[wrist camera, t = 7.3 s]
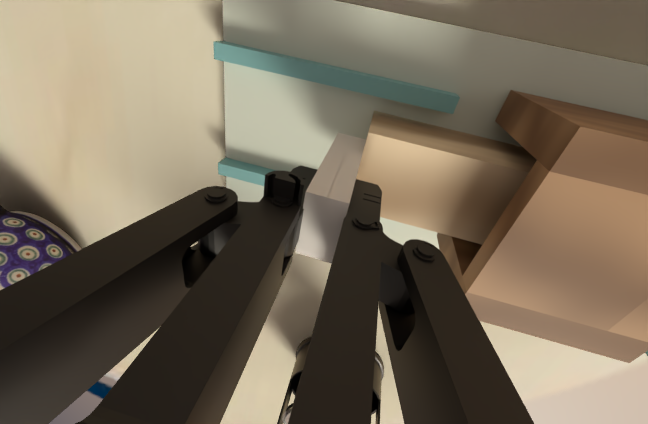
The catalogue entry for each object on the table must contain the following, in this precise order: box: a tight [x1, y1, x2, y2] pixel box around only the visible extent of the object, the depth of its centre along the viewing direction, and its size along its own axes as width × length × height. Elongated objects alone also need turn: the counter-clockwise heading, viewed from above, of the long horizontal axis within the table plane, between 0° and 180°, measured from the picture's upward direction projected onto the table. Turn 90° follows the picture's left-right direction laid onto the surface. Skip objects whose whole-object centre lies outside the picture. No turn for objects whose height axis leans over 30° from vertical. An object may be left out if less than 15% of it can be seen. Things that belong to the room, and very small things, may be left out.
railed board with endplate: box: [214, 0, 648, 356], centre depth 13 cm, size 13×29×10 cm, turn 80°
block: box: [437, 90, 648, 363], centre depth 13 cm, size 9×8×6 cm
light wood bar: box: [356, 111, 537, 245], centre depth 15 cm, size 4×12×4 cm, turn 80°
